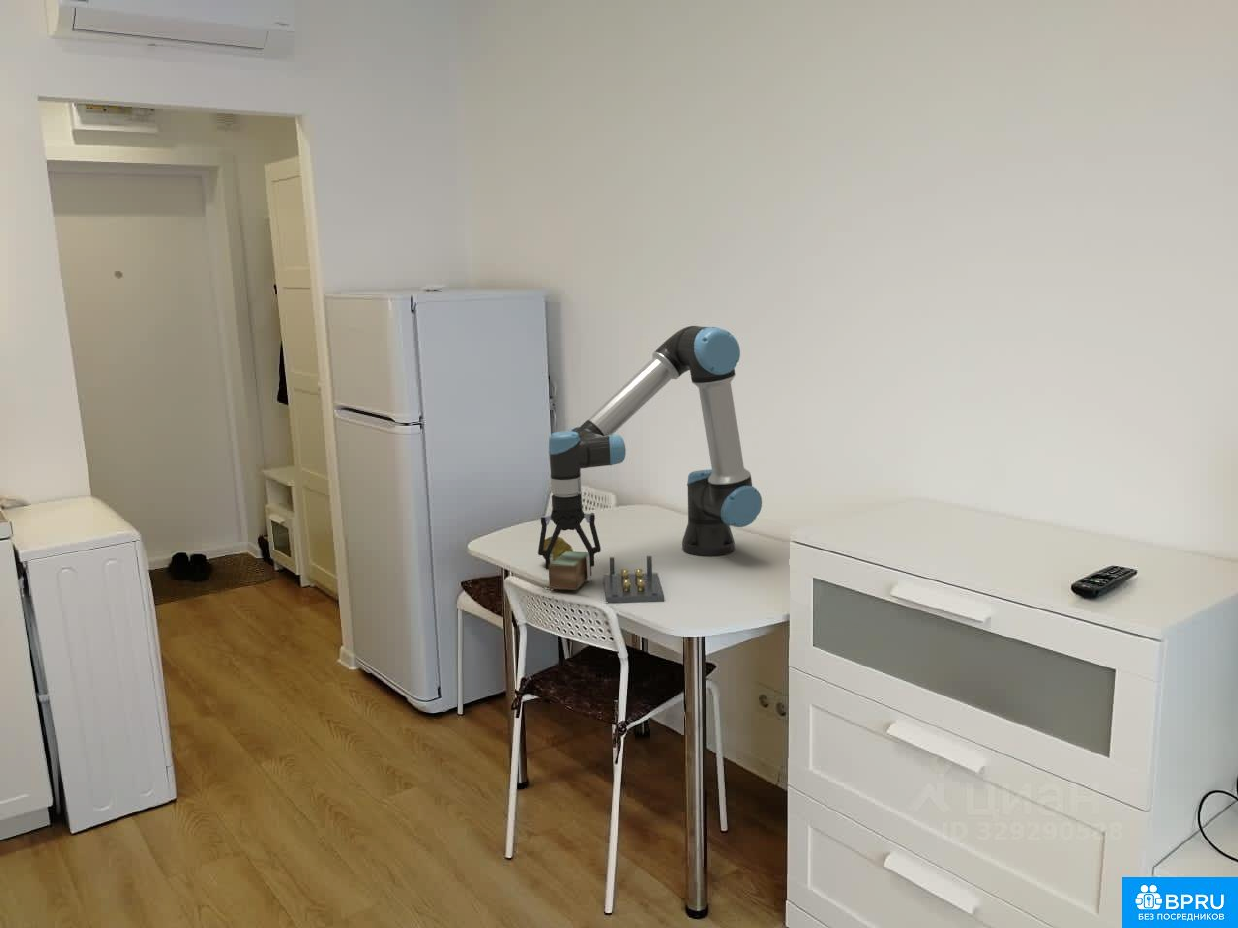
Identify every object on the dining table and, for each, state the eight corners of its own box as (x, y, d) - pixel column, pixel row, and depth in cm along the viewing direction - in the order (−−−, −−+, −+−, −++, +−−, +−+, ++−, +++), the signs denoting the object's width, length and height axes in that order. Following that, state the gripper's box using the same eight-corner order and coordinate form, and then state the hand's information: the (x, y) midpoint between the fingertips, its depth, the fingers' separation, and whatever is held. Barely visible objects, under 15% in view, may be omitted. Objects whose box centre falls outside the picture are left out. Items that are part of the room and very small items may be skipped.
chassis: (603, 580, 254) (603, 556, 252) (657, 578, 254) (657, 554, 253) (606, 603, 236) (605, 577, 235) (664, 601, 237) (663, 575, 235)
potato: (549, 576, 258) (548, 546, 257) (539, 562, 270) (538, 534, 269) (579, 572, 261) (579, 543, 259) (568, 559, 273) (567, 532, 271)
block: (566, 573, 256) (565, 550, 255) (591, 575, 254) (590, 551, 253) (549, 588, 245) (548, 564, 244) (575, 589, 243) (574, 565, 242)
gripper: (608, 488, 249) (611, 572, 253) (524, 492, 248) (529, 577, 252) (609, 494, 241) (613, 582, 246) (523, 499, 241) (528, 586, 245)
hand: (570, 579), depth 249 cm, fingers closed on block, 8 cm apart
